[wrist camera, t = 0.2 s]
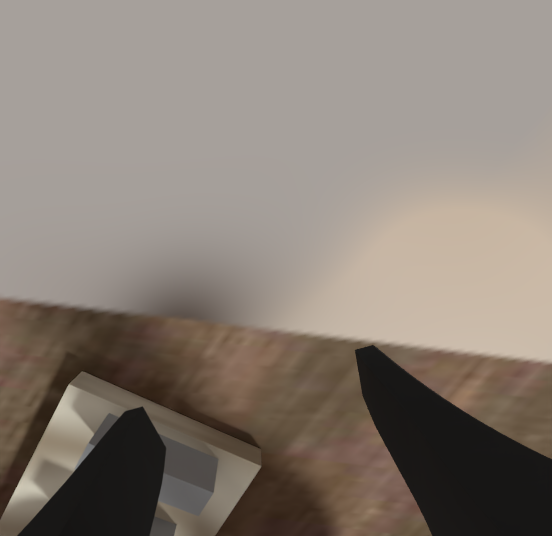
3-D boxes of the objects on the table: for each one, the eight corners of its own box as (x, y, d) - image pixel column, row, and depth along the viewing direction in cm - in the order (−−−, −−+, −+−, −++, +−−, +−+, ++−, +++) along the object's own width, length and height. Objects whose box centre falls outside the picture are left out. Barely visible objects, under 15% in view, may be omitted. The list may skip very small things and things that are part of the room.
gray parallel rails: (164, 544, 22) (153, 586, 20) (58, 506, 21) (32, 546, 19) (218, 458, 21) (213, 492, 19) (108, 412, 20) (88, 443, 17)
